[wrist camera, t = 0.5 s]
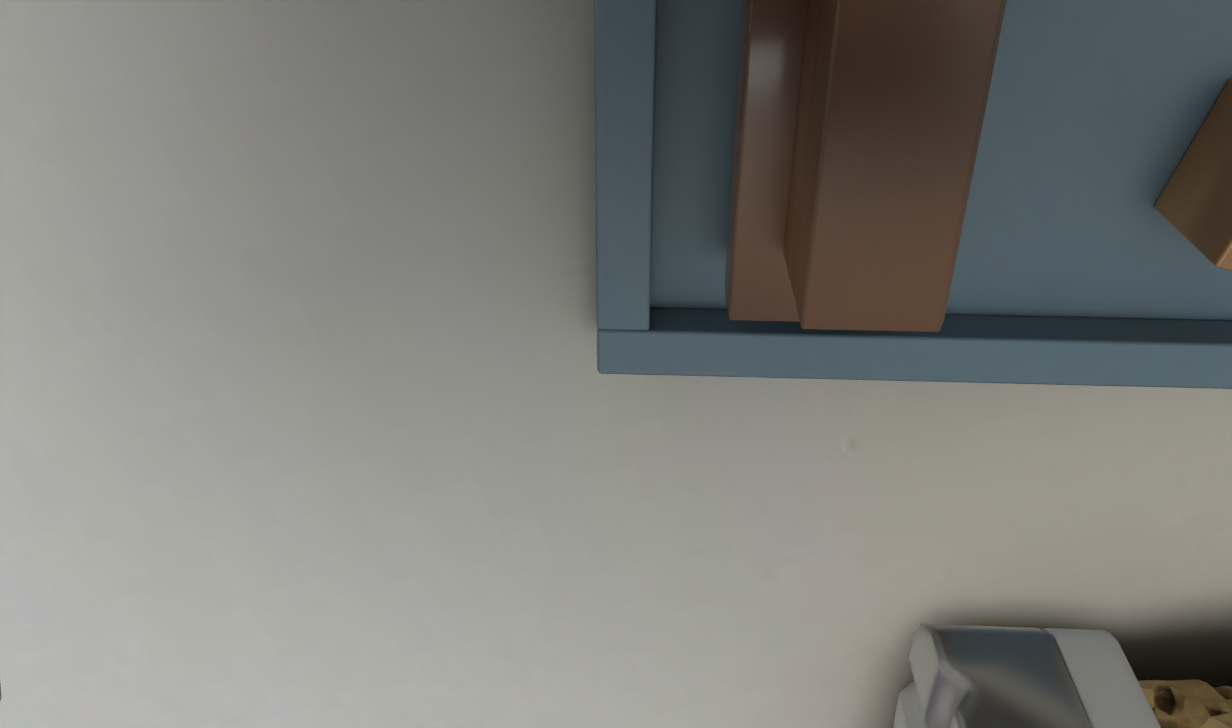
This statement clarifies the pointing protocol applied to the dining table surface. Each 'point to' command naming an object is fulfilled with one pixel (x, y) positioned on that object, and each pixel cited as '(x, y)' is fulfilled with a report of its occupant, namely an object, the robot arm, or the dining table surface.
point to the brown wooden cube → (1205, 187)
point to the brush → (855, 158)
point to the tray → (994, 219)
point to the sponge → (1189, 703)
